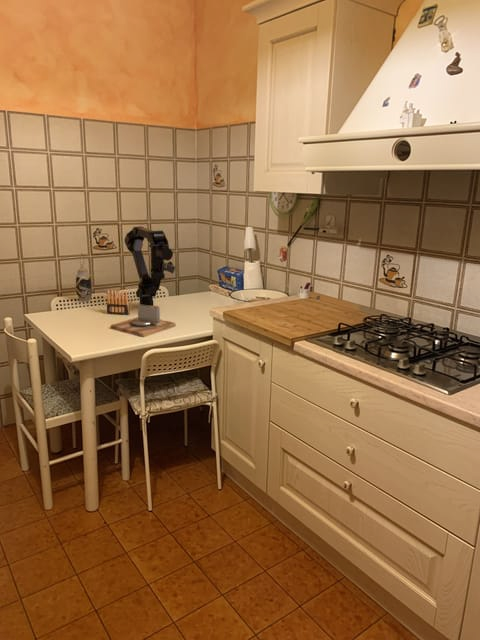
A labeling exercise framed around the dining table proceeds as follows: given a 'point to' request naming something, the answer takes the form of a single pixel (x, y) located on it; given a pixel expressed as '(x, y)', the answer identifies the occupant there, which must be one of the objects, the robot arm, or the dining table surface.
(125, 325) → the dial plate
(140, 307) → the dial knob
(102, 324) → the dining table surface
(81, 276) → the clear tall bottle
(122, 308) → the ammunition clip
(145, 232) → the robot arm
